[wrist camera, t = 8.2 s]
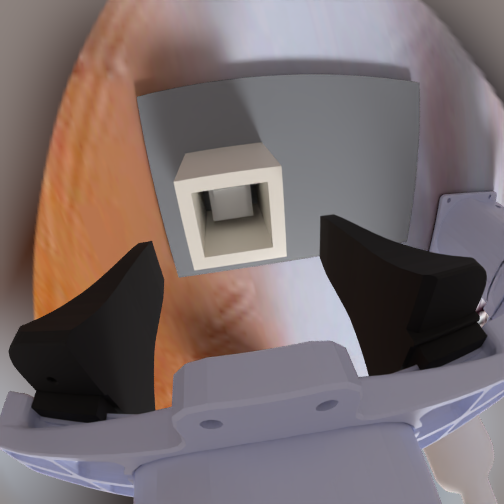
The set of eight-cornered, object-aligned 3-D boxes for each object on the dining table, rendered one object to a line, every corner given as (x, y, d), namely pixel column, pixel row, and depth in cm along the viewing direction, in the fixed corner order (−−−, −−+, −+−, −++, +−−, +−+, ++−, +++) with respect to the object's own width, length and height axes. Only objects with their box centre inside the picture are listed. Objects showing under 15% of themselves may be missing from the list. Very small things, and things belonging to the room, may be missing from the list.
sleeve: (261, 142, 18) (281, 165, 13) (268, 211, 21) (286, 256, 16) (185, 153, 18) (173, 181, 13) (198, 221, 21) (194, 270, 16)
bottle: (425, 353, 37) (501, 510, 12) (381, 373, 38) (448, 544, 12) (433, 320, 33) (531, 502, 8) (383, 343, 33) (470, 547, 8)
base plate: (412, 81, 17) (449, 86, 13) (401, 236, 25) (427, 262, 21) (140, 96, 16) (120, 99, 12) (179, 270, 24) (175, 307, 20)
